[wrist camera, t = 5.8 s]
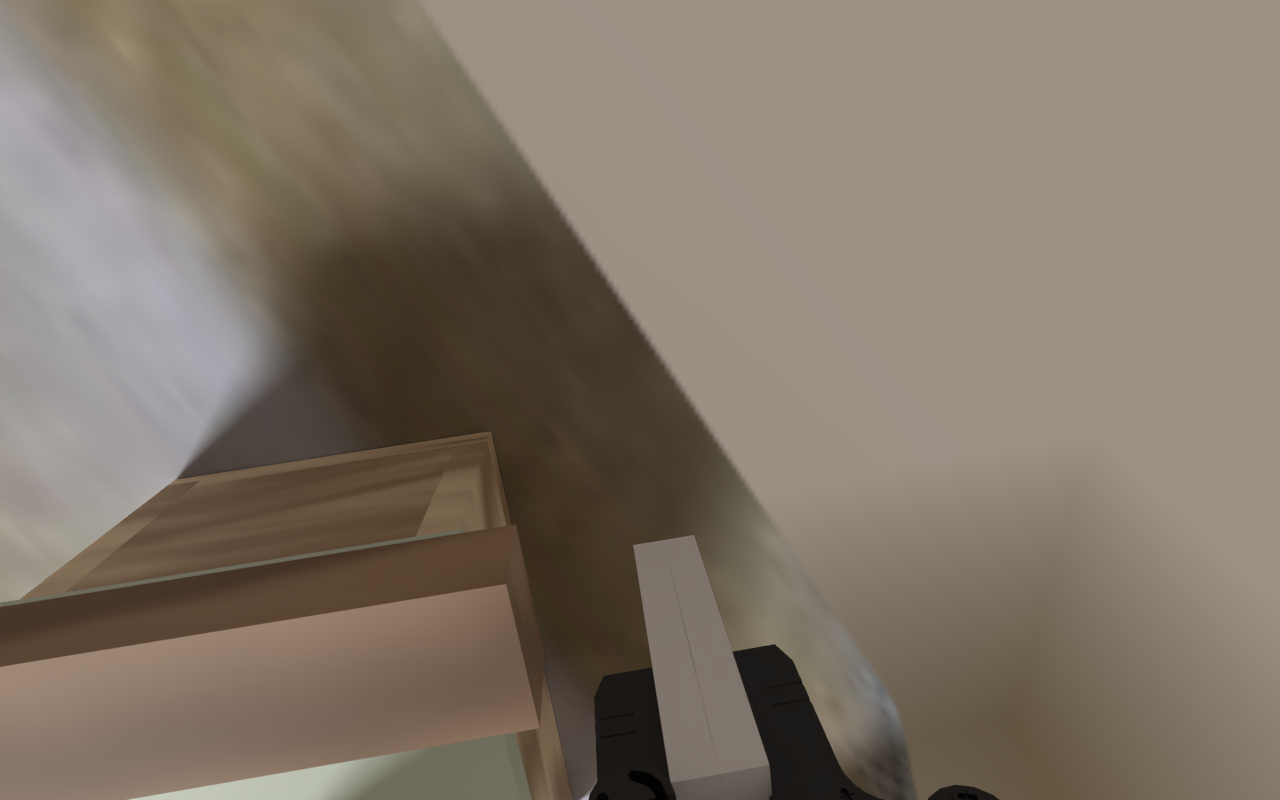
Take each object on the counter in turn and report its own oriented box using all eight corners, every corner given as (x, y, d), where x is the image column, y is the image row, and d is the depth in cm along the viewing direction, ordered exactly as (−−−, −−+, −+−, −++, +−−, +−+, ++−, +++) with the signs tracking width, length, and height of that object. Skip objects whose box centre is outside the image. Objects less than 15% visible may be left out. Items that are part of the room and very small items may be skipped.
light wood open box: (175, 479, 25) (3, 612, 17) (490, 431, 25) (454, 540, 18) (327, 849, 32) (250, 1060, 24) (574, 805, 32) (573, 998, 25)
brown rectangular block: (-156, 632, 16) (-285, 713, 13) (516, 524, 16) (506, 583, 14) (-73, 758, 17) (-177, 852, 15) (544, 654, 18) (540, 728, 15)
